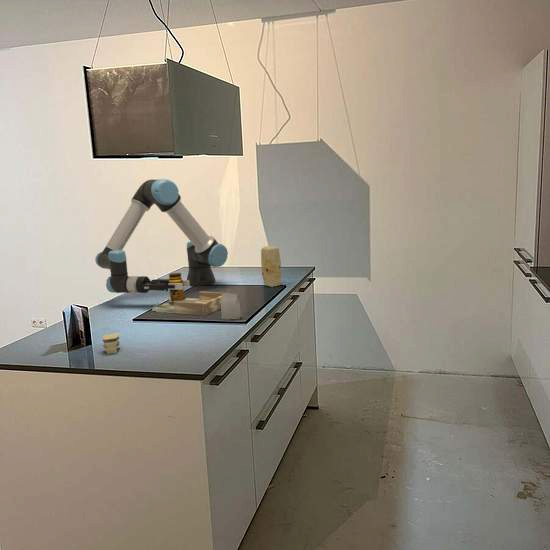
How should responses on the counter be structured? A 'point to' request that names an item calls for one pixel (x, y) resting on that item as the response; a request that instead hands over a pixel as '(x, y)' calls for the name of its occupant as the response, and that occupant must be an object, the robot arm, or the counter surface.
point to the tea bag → (230, 306)
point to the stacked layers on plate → (111, 342)
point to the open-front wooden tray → (194, 304)
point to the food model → (271, 266)
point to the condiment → (176, 294)
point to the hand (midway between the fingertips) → (185, 284)
